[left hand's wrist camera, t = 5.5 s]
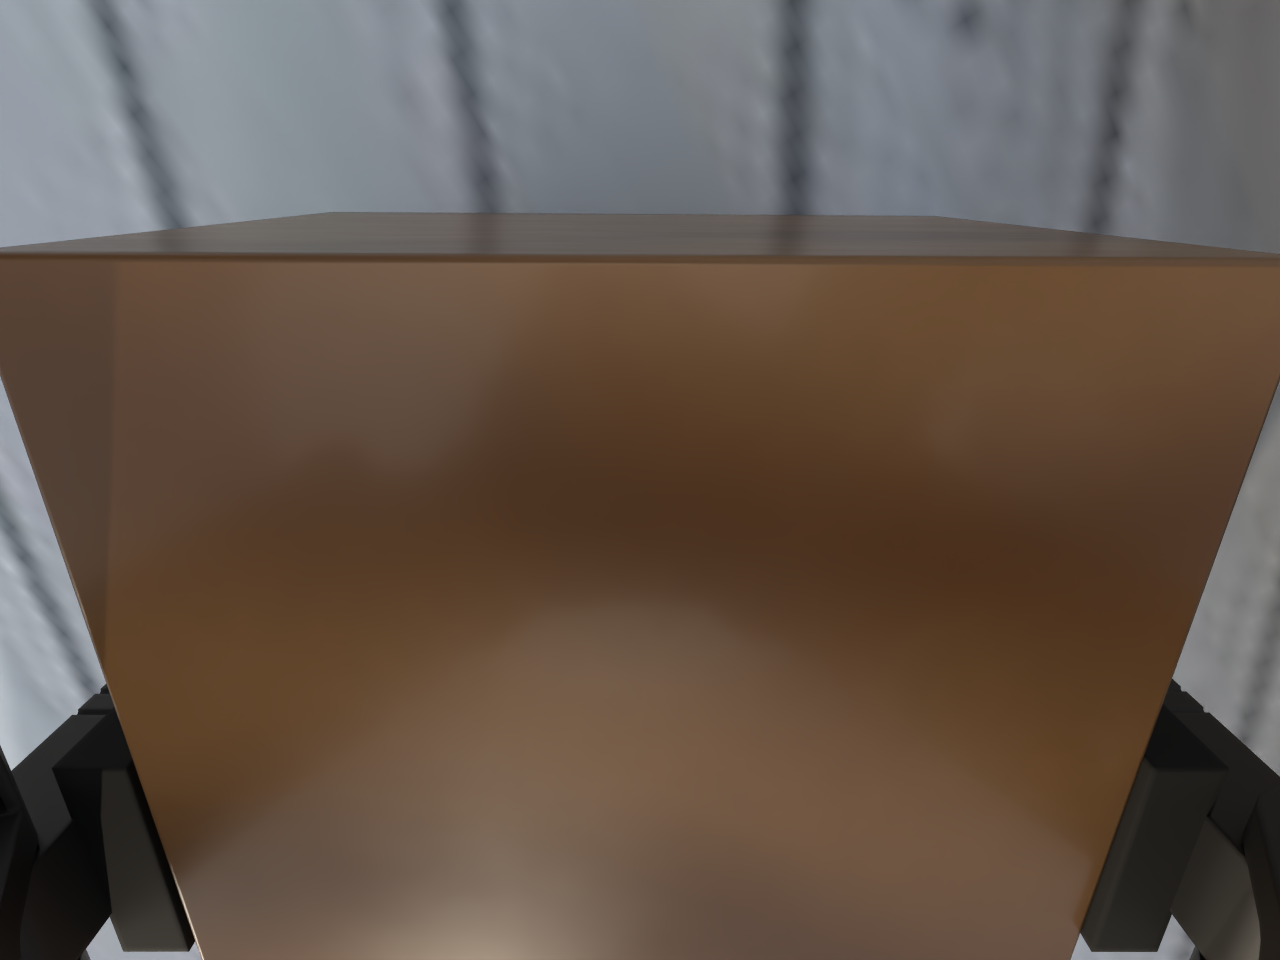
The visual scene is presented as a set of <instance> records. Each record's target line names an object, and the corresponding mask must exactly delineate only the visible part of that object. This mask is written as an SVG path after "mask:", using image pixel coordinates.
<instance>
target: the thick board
mask: <svg viewBox="0 0 1280 960" xmlns="http://www.w3.org/2000/svg"><path fill="white" fill-rule="evenodd" d="M0 376H1V379H2V382H3V385H4V388H5V391H6V394H7V396H8V399H9V402H10V405H11V408H12V411H13V414H14V417H15V420H16V423H17V425H18V428H19V431H20V434H21V437H22V440H23V443H24V446H25V449H26V452H27V454H28V457H29V460H30V463H31V466H32V469H33V472H34V475H35V478H36V480H37V483H38V486H39V489H40V492H41V495H42V498H43V501H44V504H45V507H46V509H47V512H48V515H49V518H50V521H51V524H52V527H53V530H54V533H55V536H56V538H57V541H58V544H59V547H60V550H61V553H62V556H63V559H64V562H65V564H66V567H67V570H68V573H69V576H70V579H71V582H72V585H73V588H74V591H75V593H76V596H77V599H78V602H79V605H80V608H81V611H82V614H83V617H84V620H85V622H86V625H87V628H88V631H89V634H90V637H91V640H92V643H93V646H94V649H95V651H96V654H97V657H98V660H99V663H100V666H101V669H102V672H103V675H104V677H105V680H106V683H107V686H108V689H109V692H110V695H111V698H112V701H113V704H114V706H115V709H116V712H117V715H118V718H119V721H120V724H121V727H122V730H123V733H124V735H125V738H126V741H127V744H128V747H129V750H130V753H131V756H132V759H133V761H134V764H135V767H136V770H137V773H138V776H139V779H140V782H141V785H142V788H143V790H144V793H145V796H146V799H147V802H148V805H149V808H150V811H151V814H152V817H153V819H154V822H155V825H156V828H157V831H158V834H159V837H160V840H161V843H162V846H163V848H164V851H165V854H166V857H167V860H168V863H169V866H170V869H171V872H172V874H173V877H174V880H175V883H176V886H177V889H178V892H179V895H180V898H181V901H182V903H183V906H184V909H185V912H186V915H187V918H188V921H189V924H190V927H191V930H192V932H193V935H194V938H195V941H196V944H197V947H198V950H199V953H200V956H201V958H202V960H1070V959H1071V957H1072V954H1073V951H1074V948H1075V946H1076V943H1077V940H1078V937H1079V934H1080V932H1081V929H1082V926H1083V923H1084V921H1085V918H1086V915H1087V912H1088V910H1089V907H1090V904H1091V901H1092V898H1093V896H1094V893H1095V890H1096V887H1097V885H1098V882H1099V879H1100V876H1101V873H1102V871H1103V868H1104V865H1105V862H1106V860H1107V857H1108V854H1109V851H1110V849H1111V846H1112V843H1113V840H1114V837H1115V835H1116V832H1117V829H1118V826H1119V824H1120V821H1121V818H1122V815H1123V813H1124V810H1125V807H1126V804H1127V801H1128V799H1129V796H1130V793H1131V790H1132V788H1133V785H1134V782H1135V779H1136V777H1137V774H1138V771H1139V768H1140V765H1141V763H1142V760H1143V757H1144V754H1145V752H1146V749H1147V746H1148V743H1149V740H1150V738H1151V735H1152V732H1153V729H1154V727H1155V724H1156V721H1157V718H1158V716H1159V713H1160V710H1161V707H1162V704H1163V702H1164V699H1165V696H1166V693H1167V691H1168V688H1169V685H1170V682H1171V680H1172V677H1173V674H1174V671H1175V668H1176V666H1177V663H1178V660H1179V657H1180V655H1181V652H1182V649H1183V646H1184V644H1185V641H1186V638H1187V635H1188V632H1189V630H1190V627H1191V624H1192V621H1193V619H1194V616H1195V613H1196V610H1197V607H1198V605H1199V602H1200V599H1201V596H1202V594H1203V591H1204V588H1205V585H1206V583H1207V580H1208V577H1209V574H1210V571H1211V569H1212V566H1213V563H1214V560H1215V558H1216V555H1217V552H1218V549H1219V547H1220V544H1221V541H1222V538H1223V535H1224V533H1225V530H1226V527H1227V524H1228V522H1229V519H1230V516H1231V513H1232V511H1233V508H1234V505H1235V502H1236V499H1237V497H1238V494H1239V491H1240V488H1241V486H1242V483H1243V480H1244V477H1245V474H1246V472H1247V469H1248V466H1249V463H1250V461H1251V458H1252V455H1253V452H1254V450H1255V447H1256V444H1257V441H1258V438H1259V436H1260V433H1261V430H1262V427H1263V425H1264V422H1265V419H1266V416H1267V414H1268V411H1269V408H1270V405H1271V402H1272V400H1273V397H1274V394H1275V391H1276V389H1277V386H1278V383H1279V380H1280V254H1272V253H1263V252H1254V251H1245V250H1236V249H1227V248H1218V247H1209V246H1200V245H1191V244H1182V243H1173V242H1164V241H1155V240H1146V239H1137V238H1128V237H1119V236H1110V235H1101V234H1091V233H1082V232H1073V231H1064V230H1055V229H1046V228H1037V227H1028V226H1019V225H1010V224H1001V223H992V222H983V221H974V220H965V219H956V218H947V217H938V216H844V215H693V214H543V213H393V212H329V213H319V214H310V215H301V216H291V217H282V218H273V219H263V220H254V221H245V222H235V223H226V224H217V225H207V226H198V227H189V228H179V229H170V230H161V231H151V232H142V233H133V234H123V235H114V236H105V237H96V238H86V239H77V240H68V241H58V242H49V243H40V244H30V245H21V246H12V247H2V248H0Z"/></svg>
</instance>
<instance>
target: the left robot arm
mask: <svg viewBox="0 0 1280 960" xmlns="http://www.w3.org/2000/svg"><path fill="white" fill-rule="evenodd" d="M1171 915H1173V916H1174V917H1175V919H1176V920H1177V921H1178V923H1179V924H1180V925H1181V927H1182V928H1183V930H1184V931H1185V932H1186V934H1187V935H1188V936H1189V938H1190V939H1191V940H1192V942H1193V943H1194V944H1195V948H1194V950H1193V953H1192V955H1191V957H1190V960H1280V777H1279V776H1278V775H1277V774H1276V773H1275V772H1274V771H1273V770H1272V769H1271V768H1269V767H1268V766H1267V765H1266V764H1265V763H1264V762H1263V761H1262V760H1261V759H1260V758H1259V757H1257V756H1256V755H1255V754H1254V753H1253V752H1252V751H1251V750H1250V749H1249V748H1248V747H1246V746H1245V745H1244V744H1243V743H1242V742H1241V741H1240V740H1239V739H1238V738H1237V737H1235V736H1234V735H1233V734H1232V733H1231V732H1230V731H1229V730H1228V729H1227V728H1226V727H1225V726H1223V725H1222V724H1221V723H1220V722H1219V721H1218V720H1217V719H1216V718H1215V717H1214V716H1212V715H1211V714H1210V713H1205V712H1204V710H1203V706H1201V705H1200V704H1199V703H1198V702H1197V701H1196V700H1195V699H1194V698H1193V697H1192V696H1191V695H1189V694H1188V693H1187V692H1186V691H1181V686H1180V685H1178V684H1177V683H1176V682H1175V681H1174V680H1173V679H1172V680H1171V682H1170V685H1169V688H1168V691H1167V693H1166V696H1165V699H1164V702H1163V704H1162V707H1161V710H1160V713H1159V716H1158V718H1157V721H1156V724H1155V727H1154V729H1153V732H1152V735H1151V738H1150V740H1149V743H1148V746H1147V749H1146V752H1145V754H1144V757H1143V760H1142V763H1141V765H1140V768H1139V771H1138V774H1137V777H1136V779H1135V782H1134V785H1133V788H1132V790H1131V793H1130V796H1129V799H1128V801H1127V804H1126V807H1125V810H1124V813H1123V815H1122V818H1121V821H1120V824H1119V826H1118V829H1117V832H1116V835H1115V837H1114V840H1113V843H1112V846H1111V849H1110V851H1109V854H1108V857H1107V860H1106V862H1105V865H1104V868H1103V871H1102V873H1101V876H1100V879H1099V882H1098V885H1097V887H1096V890H1095V893H1094V896H1093V898H1092V901H1091V904H1090V907H1089V910H1088V912H1087V915H1086V918H1085V921H1084V923H1083V926H1082V929H1081V932H1080V933H1081V935H1082V936H1083V938H1084V940H1085V941H1086V943H1087V945H1088V946H1089V948H1090V950H1091V951H1092V952H1157V951H1158V948H1159V946H1160V943H1161V941H1162V938H1163V936H1164V933H1165V930H1166V928H1167V925H1168V923H1169V920H1170V918H1171ZM109 916H110V918H111V921H112V924H113V926H114V929H115V931H116V934H117V936H118V939H119V941H120V944H121V946H122V949H123V951H124V952H129V951H190V949H191V947H192V946H193V944H194V942H195V938H194V935H193V932H192V930H191V927H190V924H189V921H188V918H187V915H186V912H185V909H184V906H183V903H182V901H181V898H180V895H179V892H178V889H177V886H176V883H175V880H174V877H173V874H172V872H171V869H170V866H169V863H168V860H167V857H166V854H165V851H164V848H163V846H162V843H161V840H160V837H159V834H158V831H157V828H156V825H155V822H154V819H153V817H152V814H151V811H150V808H149V805H148V802H147V799H146V796H145V793H144V790H143V788H142V785H141V782H140V779H139V776H138V773H137V770H136V767H135V764H134V761H133V759H132V756H131V753H130V750H129V747H128V744H127V741H126V738H125V735H124V733H123V730H122V727H121V724H120V721H119V718H118V715H117V712H116V709H115V706H114V704H113V701H112V698H111V695H110V692H109V689H108V686H107V684H106V685H104V686H103V687H102V688H101V692H100V694H95V695H94V696H92V697H91V698H90V699H89V700H88V701H87V702H86V703H85V704H84V705H83V706H82V707H81V708H79V709H78V714H77V715H72V716H71V717H70V718H69V719H67V720H66V721H65V722H64V723H63V724H62V725H61V726H60V727H59V728H58V729H57V730H55V731H54V732H53V733H52V734H51V735H50V736H49V737H48V738H47V739H46V740H45V741H43V742H42V743H41V744H40V745H39V746H38V747H37V748H36V749H35V750H34V751H33V752H32V753H30V754H29V755H28V756H27V757H26V758H25V759H24V760H23V761H22V762H21V763H20V764H18V765H17V766H16V767H15V768H14V769H13V770H12V771H11V770H10V767H9V765H8V763H7V760H6V758H5V756H4V753H3V751H2V748H1V746H0V960H90V957H89V955H88V953H87V950H86V948H87V946H88V945H89V944H90V942H91V941H92V940H93V938H94V937H95V936H96V934H97V933H98V931H99V930H100V929H101V927H102V926H103V925H104V923H105V922H106V921H107V919H108V918H109Z"/></svg>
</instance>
